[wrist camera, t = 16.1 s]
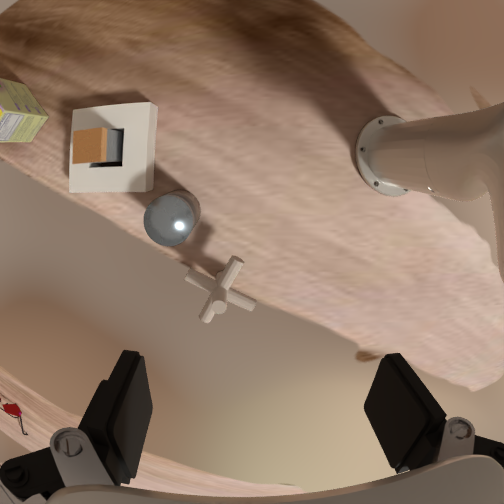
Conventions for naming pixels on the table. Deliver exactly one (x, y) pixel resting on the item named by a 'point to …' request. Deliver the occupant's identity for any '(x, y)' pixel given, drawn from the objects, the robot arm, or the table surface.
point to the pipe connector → (220, 290)
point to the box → (19, 113)
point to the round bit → (172, 217)
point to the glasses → (13, 412)
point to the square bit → (97, 146)
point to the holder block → (134, 149)
